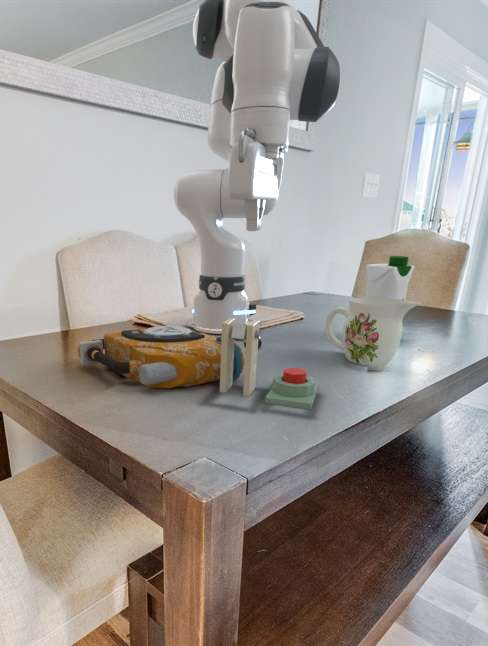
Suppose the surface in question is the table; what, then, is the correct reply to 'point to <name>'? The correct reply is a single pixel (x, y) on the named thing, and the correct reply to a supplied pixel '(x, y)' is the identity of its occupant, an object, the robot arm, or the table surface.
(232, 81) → the robot arm
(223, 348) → the bracket
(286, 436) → the table surface
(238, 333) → the lever
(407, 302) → the pitcher
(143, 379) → the device
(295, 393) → the button box
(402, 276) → the milk carton
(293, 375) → the button
